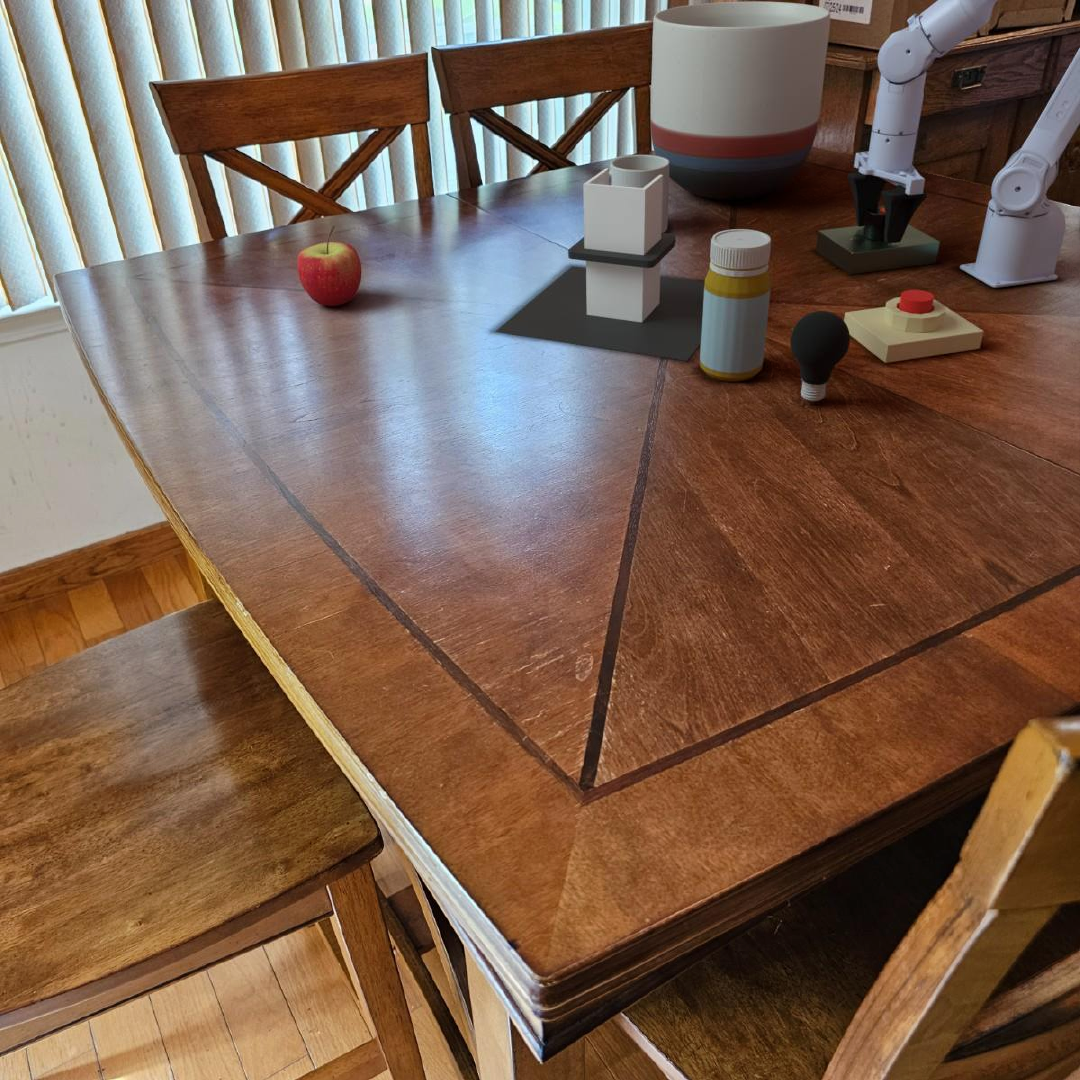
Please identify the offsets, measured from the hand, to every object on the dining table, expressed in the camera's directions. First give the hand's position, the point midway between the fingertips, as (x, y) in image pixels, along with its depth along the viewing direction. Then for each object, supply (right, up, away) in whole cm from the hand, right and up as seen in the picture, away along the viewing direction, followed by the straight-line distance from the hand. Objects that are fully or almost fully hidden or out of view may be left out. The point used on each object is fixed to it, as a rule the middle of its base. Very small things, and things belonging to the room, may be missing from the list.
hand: (878, 233), depth 137 cm
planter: (-15, +16, +30) cm, 37 cm away
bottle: (-25, -23, -25) cm, 43 cm away
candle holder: (-36, -13, -9) cm, 40 cm away
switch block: (-3, -19, -21) cm, 28 cm away
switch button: (-4, -16, -23) cm, 28 cm away
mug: (-33, +6, +16) cm, 37 cm away
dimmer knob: (0, 0, 0) cm, 0 cm away
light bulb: (-18, -28, -32) cm, 47 cm away
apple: (-75, -11, -4) cm, 76 cm away
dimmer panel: (0, -3, +2) cm, 3 cm away
